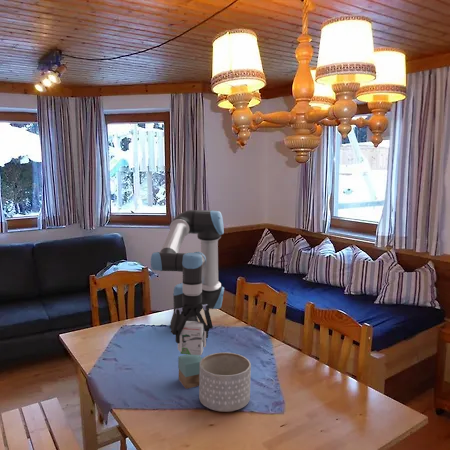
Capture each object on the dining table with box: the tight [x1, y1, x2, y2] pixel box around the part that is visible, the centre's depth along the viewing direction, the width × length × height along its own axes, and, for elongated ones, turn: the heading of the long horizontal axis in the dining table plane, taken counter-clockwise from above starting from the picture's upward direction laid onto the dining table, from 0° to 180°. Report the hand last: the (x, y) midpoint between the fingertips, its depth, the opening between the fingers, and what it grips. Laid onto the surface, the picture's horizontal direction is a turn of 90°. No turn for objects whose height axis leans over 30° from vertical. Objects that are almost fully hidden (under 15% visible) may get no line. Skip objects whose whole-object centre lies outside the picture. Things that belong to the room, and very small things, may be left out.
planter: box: [198, 351, 252, 413], centre depth 154 cm, size 19×19×14 cm
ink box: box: [179, 321, 204, 356], centre depth 166 cm, size 9×5×12 cm, turn 84°
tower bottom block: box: [178, 369, 199, 390], centre depth 167 cm, size 8×8×5 cm
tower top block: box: [177, 354, 203, 377], centre depth 167 cm, size 8×8×5 cm
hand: (191, 348), depth 166 cm, fingers closed on ink box, 9 cm apart
